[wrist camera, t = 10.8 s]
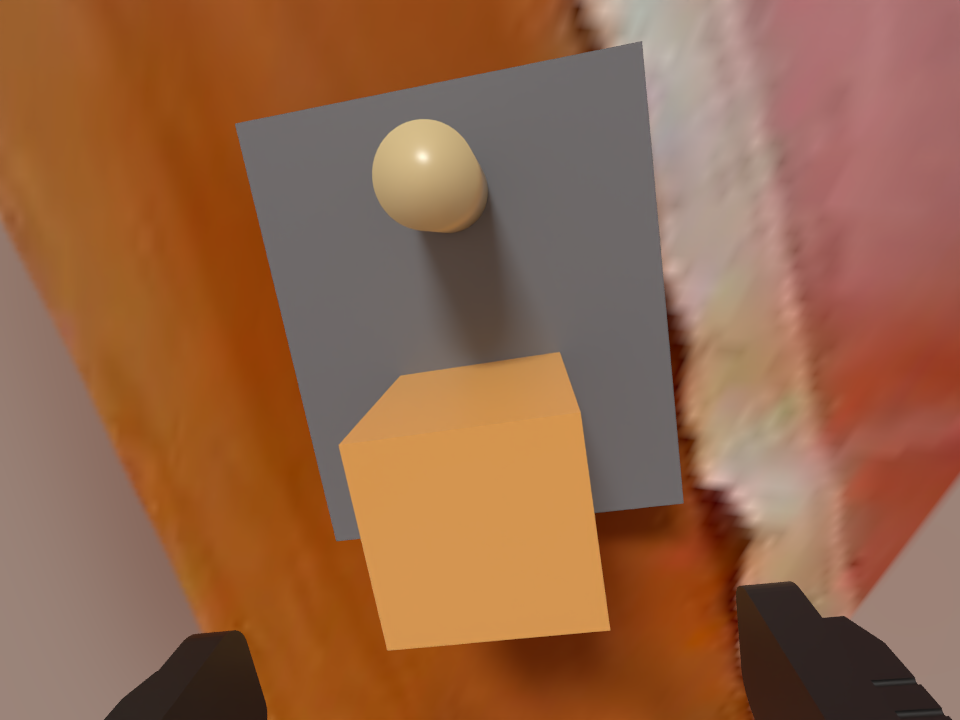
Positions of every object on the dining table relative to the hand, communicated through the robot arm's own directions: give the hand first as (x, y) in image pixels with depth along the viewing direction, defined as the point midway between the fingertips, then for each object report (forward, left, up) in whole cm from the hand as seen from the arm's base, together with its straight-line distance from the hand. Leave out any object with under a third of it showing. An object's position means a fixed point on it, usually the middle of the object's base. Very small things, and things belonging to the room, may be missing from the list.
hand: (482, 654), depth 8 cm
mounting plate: (0, -4, -12) cm, 12 cm away
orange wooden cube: (0, 0, -9) cm, 9 cm away
